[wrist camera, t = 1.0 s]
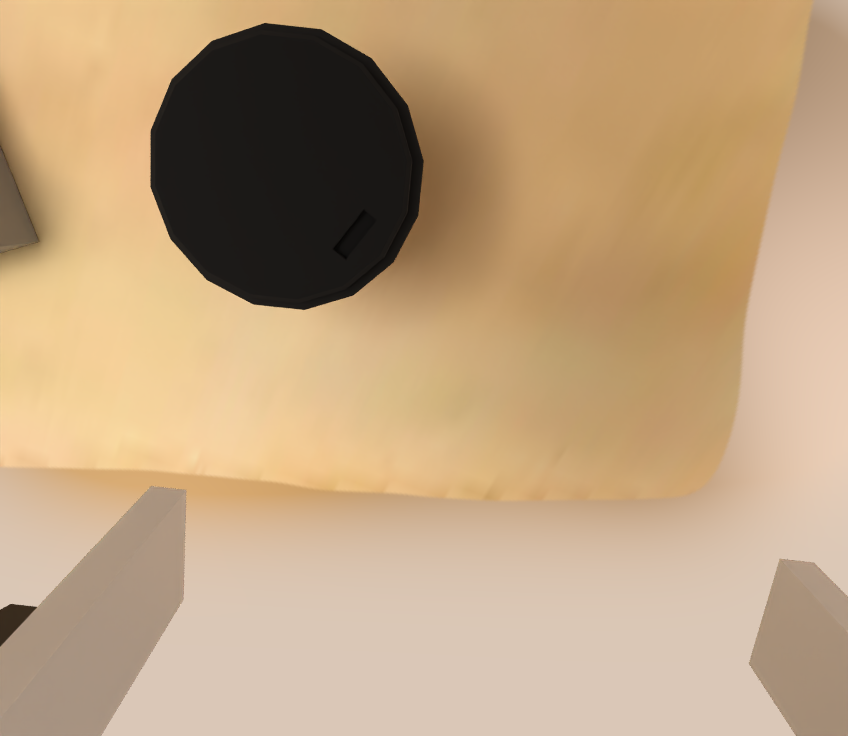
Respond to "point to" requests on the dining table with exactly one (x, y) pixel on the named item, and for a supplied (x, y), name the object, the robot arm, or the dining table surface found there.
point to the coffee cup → (286, 166)
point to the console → (13, 213)
